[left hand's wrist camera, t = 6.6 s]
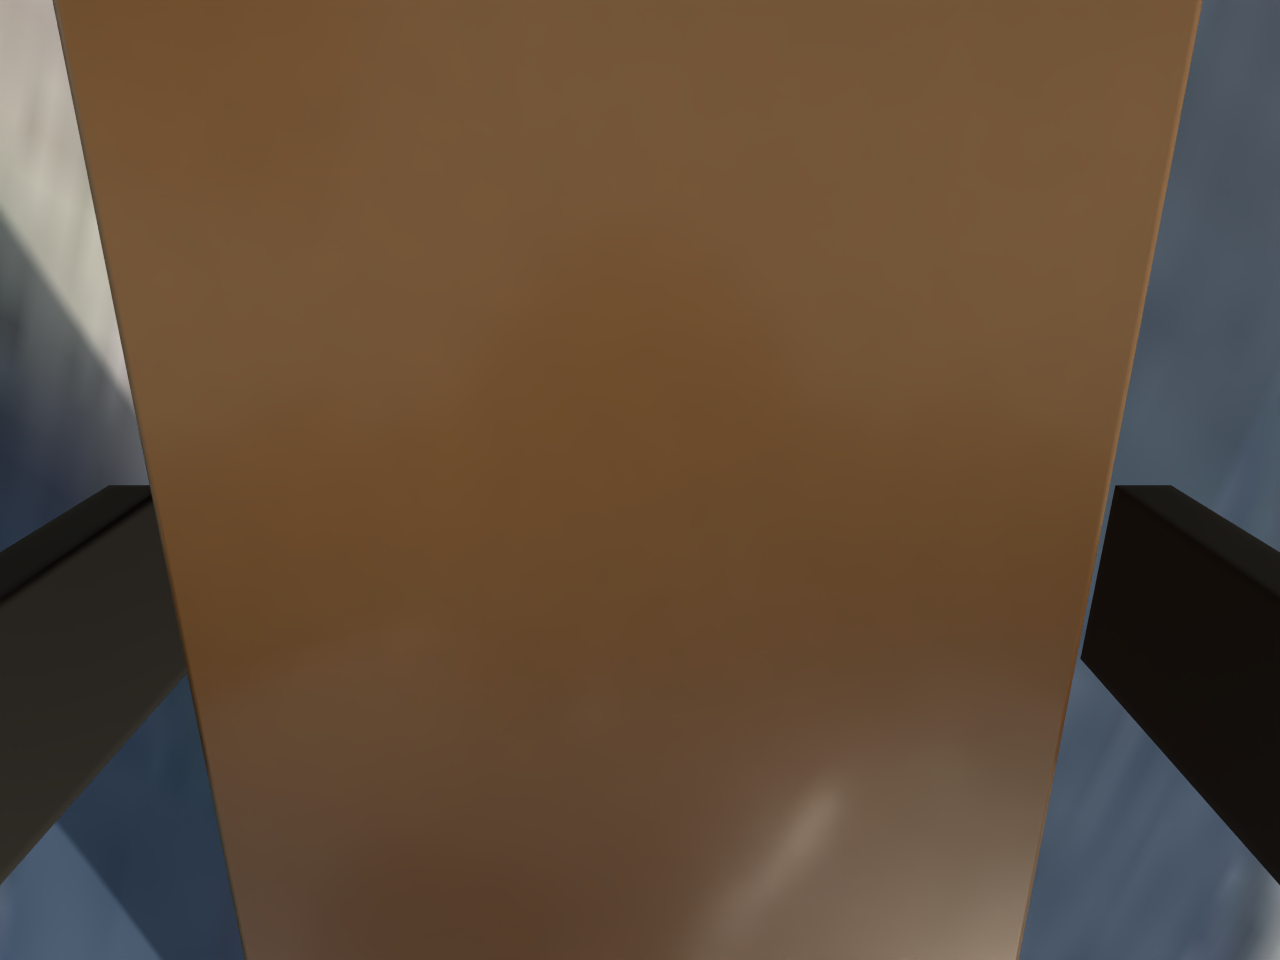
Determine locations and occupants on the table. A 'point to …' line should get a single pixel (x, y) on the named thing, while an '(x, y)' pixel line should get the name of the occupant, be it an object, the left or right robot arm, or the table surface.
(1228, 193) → the table surface
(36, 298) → the table surface
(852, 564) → the box
